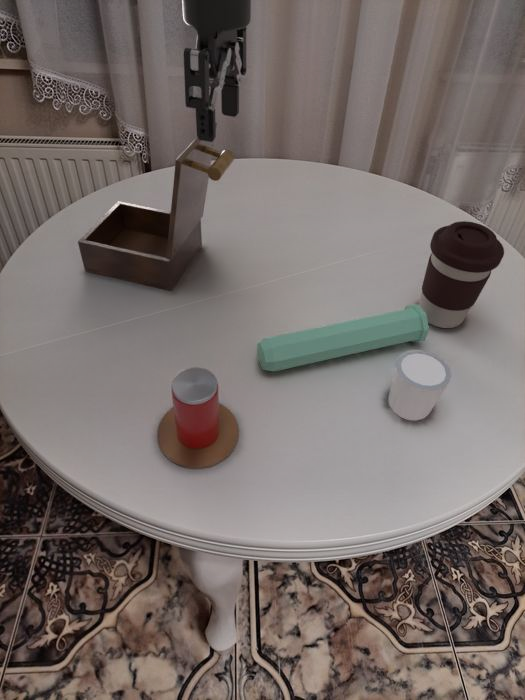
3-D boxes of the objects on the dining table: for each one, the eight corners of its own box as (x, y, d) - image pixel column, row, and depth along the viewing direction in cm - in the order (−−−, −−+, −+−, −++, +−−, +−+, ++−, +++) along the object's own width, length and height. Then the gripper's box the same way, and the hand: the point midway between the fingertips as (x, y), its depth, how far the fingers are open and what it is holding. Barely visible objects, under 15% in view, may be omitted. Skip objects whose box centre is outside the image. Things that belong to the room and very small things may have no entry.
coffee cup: (480, 310, 83) (517, 230, 72) (459, 344, 77) (497, 263, 66) (422, 286, 86) (450, 207, 76) (399, 318, 80) (425, 236, 70)
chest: (84, 271, 85) (77, 241, 81) (123, 229, 94) (118, 200, 90) (171, 291, 82) (168, 261, 78) (202, 246, 92) (200, 217, 87)
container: (262, 345, 66) (430, 310, 72) (249, 330, 71) (407, 298, 77) (266, 385, 68) (428, 348, 74) (253, 367, 74) (406, 334, 79)
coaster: (154, 470, 59) (153, 467, 59) (160, 402, 66) (160, 399, 66) (240, 467, 60) (240, 464, 60) (237, 401, 67) (237, 398, 67)
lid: (175, 159, 66) (213, 173, 66) (212, 121, 75) (245, 133, 75) (166, 258, 78) (198, 270, 78) (198, 214, 87) (227, 225, 87)
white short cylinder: (445, 412, 68) (463, 377, 63) (406, 432, 65) (421, 397, 60) (411, 377, 72) (424, 342, 67) (373, 395, 69) (384, 360, 64)
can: (175, 449, 61) (169, 402, 54) (178, 414, 64) (172, 366, 58) (219, 448, 61) (218, 401, 55) (219, 414, 65) (218, 366, 58)
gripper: (225, -11, 48) (227, 154, 60) (269, -35, 58) (263, 111, 70) (153, -20, 50) (168, 144, 61) (208, -42, 59) (212, 103, 71)
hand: (218, 126), depth 65 cm, fingers open, 8 cm apart
